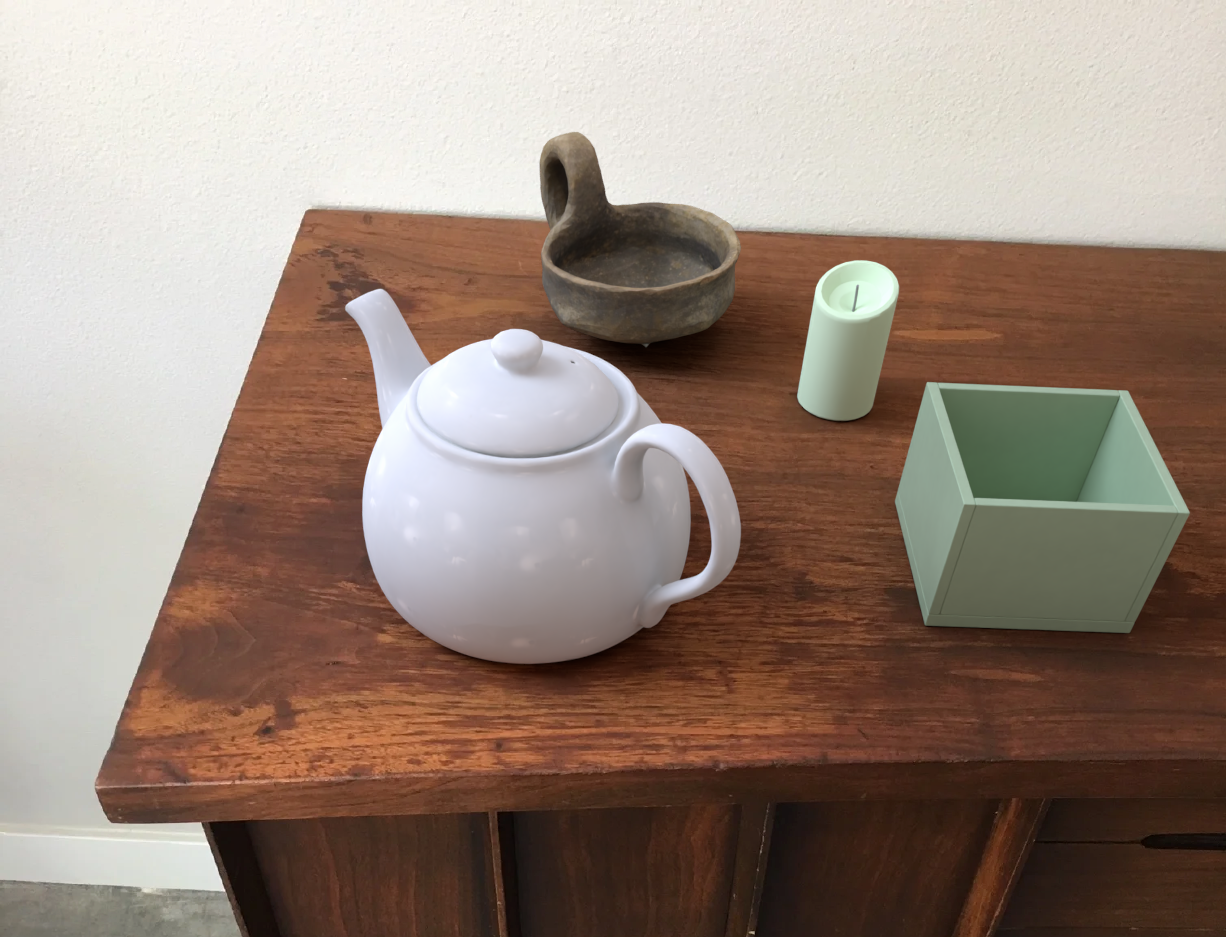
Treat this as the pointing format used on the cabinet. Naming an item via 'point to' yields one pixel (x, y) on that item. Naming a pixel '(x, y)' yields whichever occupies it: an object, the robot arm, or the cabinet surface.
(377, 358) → the teapot
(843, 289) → the candle
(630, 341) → the bowl
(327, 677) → the cabinet surface
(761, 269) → the cabinet surface
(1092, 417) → the bin
